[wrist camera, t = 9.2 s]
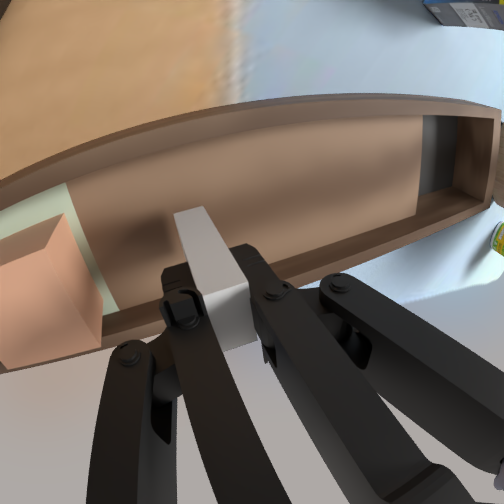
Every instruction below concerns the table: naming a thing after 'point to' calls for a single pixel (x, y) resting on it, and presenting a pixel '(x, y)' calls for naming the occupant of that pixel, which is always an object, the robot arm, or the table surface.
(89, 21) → the table surface
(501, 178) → the block
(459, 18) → the blue retail box
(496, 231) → the supplement bottle
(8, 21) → the table surface
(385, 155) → the channel
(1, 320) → the clay block
